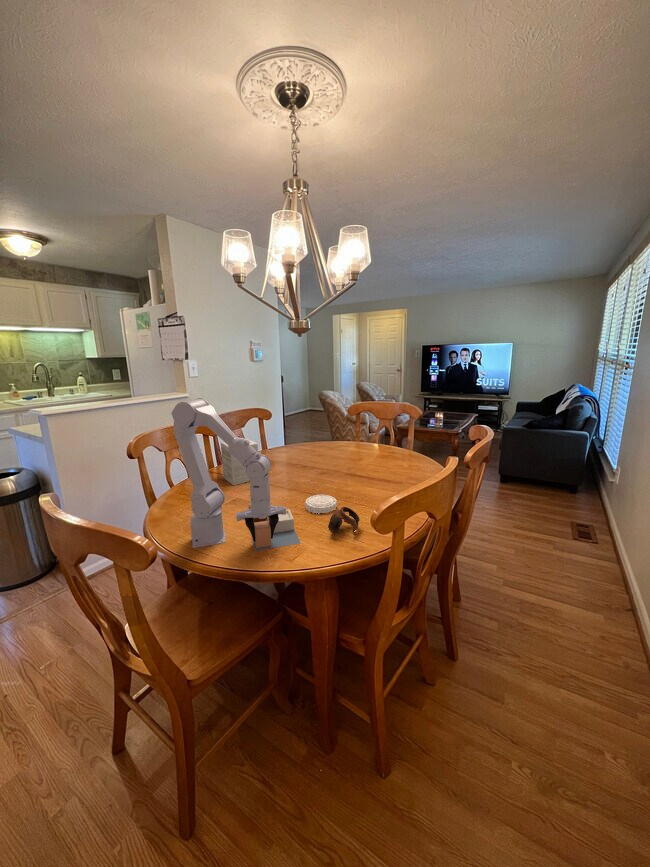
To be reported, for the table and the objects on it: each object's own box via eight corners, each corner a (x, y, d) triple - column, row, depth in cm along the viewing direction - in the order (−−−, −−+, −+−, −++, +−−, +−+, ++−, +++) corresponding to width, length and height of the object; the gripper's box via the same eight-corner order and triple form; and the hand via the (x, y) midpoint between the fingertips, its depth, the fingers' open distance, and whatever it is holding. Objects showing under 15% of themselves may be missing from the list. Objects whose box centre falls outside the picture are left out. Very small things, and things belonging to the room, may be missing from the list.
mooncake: (300, 505, 130) (299, 497, 129) (327, 499, 135) (327, 491, 135) (313, 518, 120) (313, 509, 119) (342, 511, 125) (342, 502, 124)
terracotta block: (256, 548, 100) (255, 529, 99) (254, 540, 104) (253, 522, 103) (271, 545, 101) (270, 527, 100) (269, 538, 106) (268, 520, 104)
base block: (271, 533, 109) (270, 522, 108) (268, 522, 116) (267, 512, 115) (294, 529, 111) (293, 519, 110) (289, 519, 118) (289, 509, 117)
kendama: (245, 507, 132) (247, 522, 114) (247, 491, 131) (249, 504, 114) (265, 508, 134) (270, 523, 116) (267, 493, 133) (272, 505, 116)
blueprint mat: (254, 552, 99) (254, 551, 99) (249, 525, 115) (249, 524, 115) (300, 544, 103) (300, 543, 103) (290, 519, 119) (290, 518, 118)
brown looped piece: (334, 520, 118) (346, 502, 116) (354, 539, 114) (366, 520, 112) (316, 527, 108) (329, 507, 106) (337, 547, 104) (351, 527, 102)
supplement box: (248, 471, 168) (246, 437, 164) (260, 479, 157) (258, 443, 154) (222, 477, 160) (219, 442, 157) (232, 485, 150) (229, 448, 146)
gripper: (235, 505, 94) (238, 549, 97) (287, 499, 98) (288, 541, 101) (234, 496, 100) (237, 537, 103) (283, 490, 104) (284, 530, 107)
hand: (262, 538), depth 102 cm, fingers closed on terracotta block, 4 cm apart
